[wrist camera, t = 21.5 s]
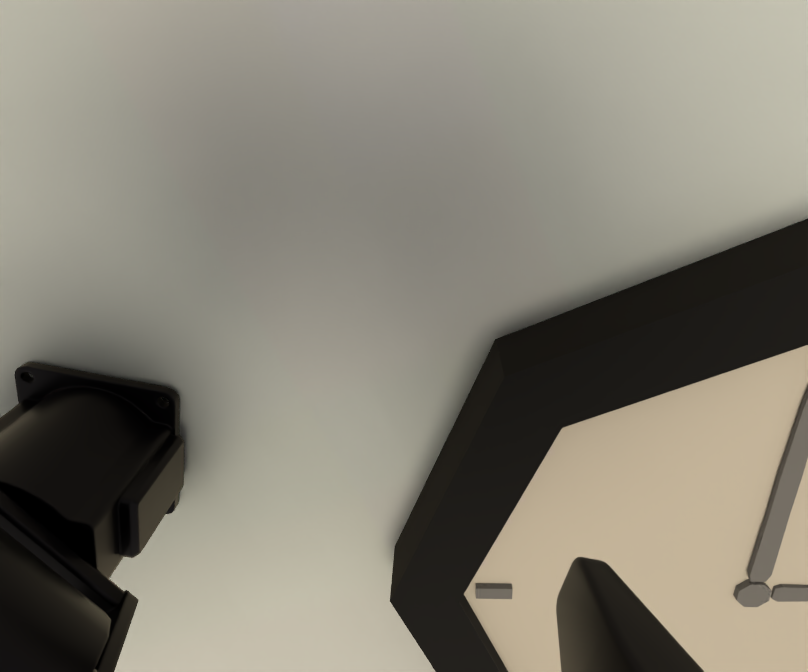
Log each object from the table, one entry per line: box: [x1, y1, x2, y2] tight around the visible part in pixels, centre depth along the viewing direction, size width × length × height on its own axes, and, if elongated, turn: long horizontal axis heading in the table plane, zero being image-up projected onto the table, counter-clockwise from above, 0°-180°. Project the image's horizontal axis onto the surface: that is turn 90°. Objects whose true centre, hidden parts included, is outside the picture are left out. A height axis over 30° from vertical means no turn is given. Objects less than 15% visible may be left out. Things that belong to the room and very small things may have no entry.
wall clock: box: [390, 219, 808, 672], centre depth 23 cm, size 30×3×30 cm
